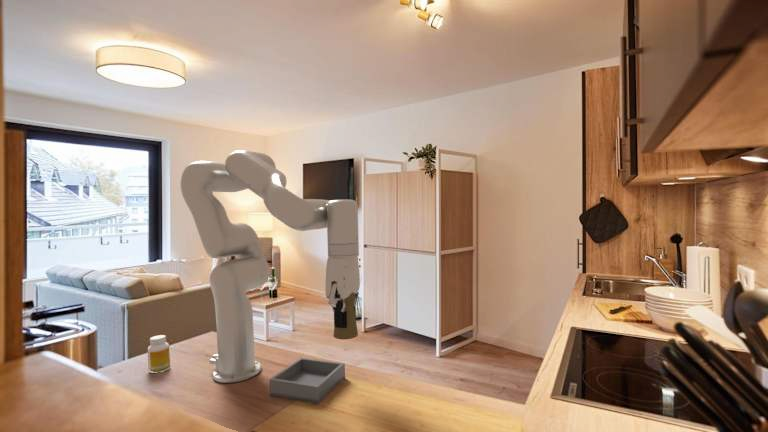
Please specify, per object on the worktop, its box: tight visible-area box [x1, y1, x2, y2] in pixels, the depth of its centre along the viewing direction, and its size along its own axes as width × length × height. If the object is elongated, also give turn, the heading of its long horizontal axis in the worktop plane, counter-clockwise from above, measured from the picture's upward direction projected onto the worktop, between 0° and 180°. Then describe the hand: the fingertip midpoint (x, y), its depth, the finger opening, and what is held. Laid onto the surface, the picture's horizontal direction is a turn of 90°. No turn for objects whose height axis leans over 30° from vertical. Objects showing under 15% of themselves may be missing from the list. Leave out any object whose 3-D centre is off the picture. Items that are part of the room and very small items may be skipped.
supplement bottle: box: [147, 334, 171, 372], centre depth 110 cm, size 5×5×10 cm
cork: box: [333, 292, 359, 340], centre depth 93 cm, size 6×6×11 cm
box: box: [268, 357, 346, 405], centre depth 96 cm, size 14×14×4 cm
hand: (345, 323), depth 93 cm, fingers closed on cork, 4 cm apart
